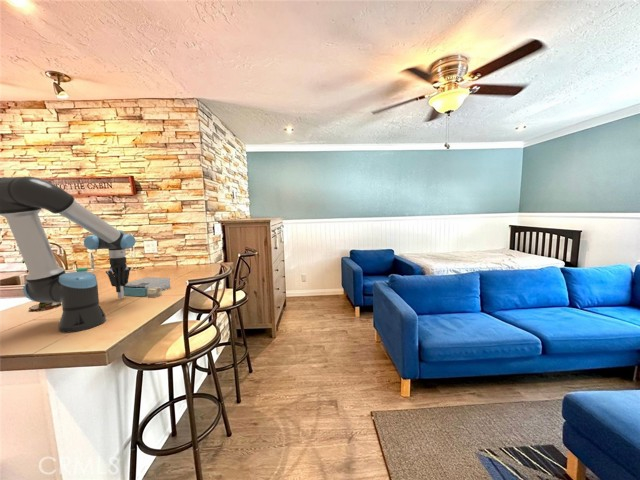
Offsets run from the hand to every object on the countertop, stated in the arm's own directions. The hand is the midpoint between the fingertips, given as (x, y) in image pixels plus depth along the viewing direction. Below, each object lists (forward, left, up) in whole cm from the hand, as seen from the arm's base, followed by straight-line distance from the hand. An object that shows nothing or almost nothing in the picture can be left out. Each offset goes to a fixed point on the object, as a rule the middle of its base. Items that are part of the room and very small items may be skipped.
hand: (121, 297), depth 143 cm
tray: (+15, 0, -2) cm, 15 cm away
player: (+17, 0, -2) cm, 17 cm away
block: (+9, -14, -2) cm, 17 cm away
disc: (+14, 0, +1) cm, 14 cm away
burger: (-17, +30, -2) cm, 34 cm away
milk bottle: (-7, +17, -2) cm, 18 cm away
